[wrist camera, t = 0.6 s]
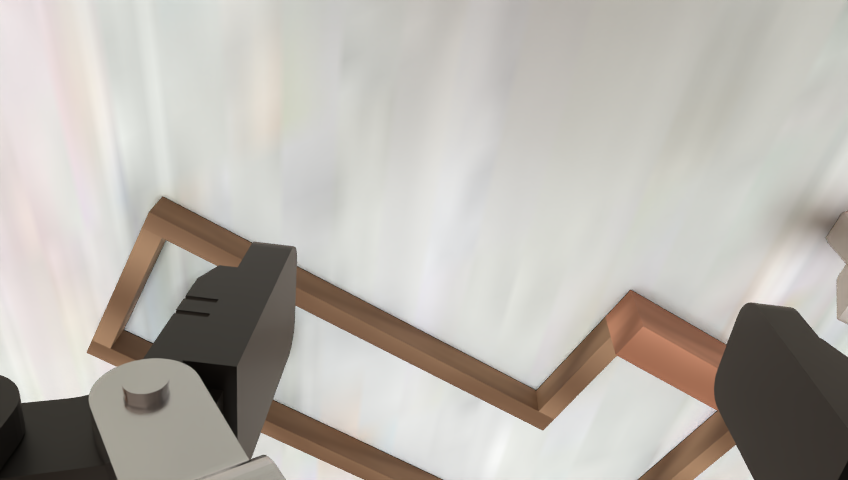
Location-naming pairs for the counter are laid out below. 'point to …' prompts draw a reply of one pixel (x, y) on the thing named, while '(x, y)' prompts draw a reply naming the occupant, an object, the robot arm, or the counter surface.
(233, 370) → the robot arm
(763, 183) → the counter surface
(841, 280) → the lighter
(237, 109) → the counter surface
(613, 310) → the track
